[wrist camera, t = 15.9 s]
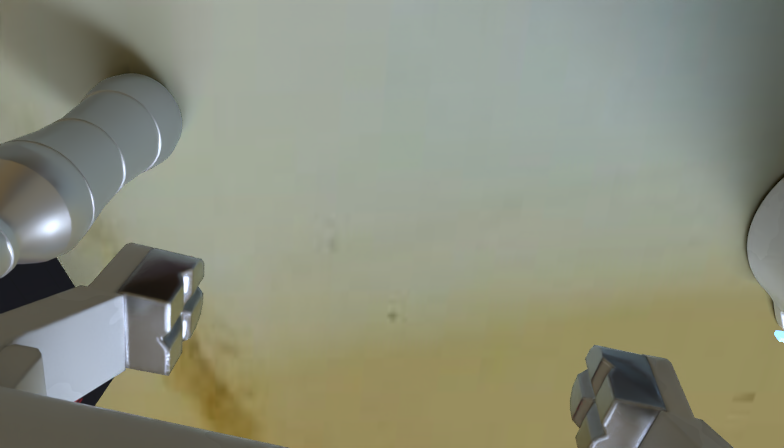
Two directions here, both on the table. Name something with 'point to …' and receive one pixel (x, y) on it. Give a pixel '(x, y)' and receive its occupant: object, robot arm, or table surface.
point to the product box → (39, 297)
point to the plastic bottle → (81, 166)
